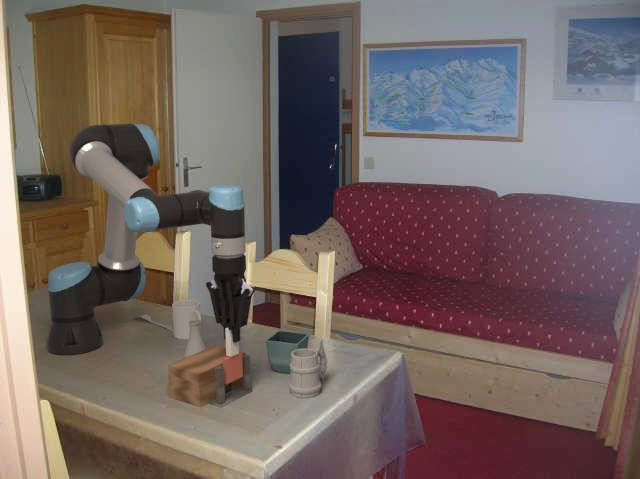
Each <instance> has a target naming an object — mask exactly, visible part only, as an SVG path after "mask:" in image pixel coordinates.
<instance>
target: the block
mask: <svg viewBox="0 0 640 479" xmlns="http://www.w3.org/2000/svg"><path fill="white" fill-rule="evenodd" d="M239 352H242V363H243V377H241V378H239V379H237V380H235V381H233V382H231V383H230V392H228V393H226V394H225V385H224V367H223V358H225V357H227V356H226V347H224V346H221V345H220V346H219V345H212V346H210V347H207V349H205V350H203V351H201V352H198V353H196V354H193V355H191V356H188V357H186V358H184V359H183V358H181V359H179V360H177V361H174V362H172V363H169V364H168V365H167V370H168V371H167V374H168V389H169V390H168V391H169V398H171V399H173V400H177V401H180V402H183V403H186V404H188V405H189V404H190V405H193V406H196V407H199V408H202V407H204V406H206V405H208V404H209V405H212V406H215V407H218V408H223V407H225V406H227V405H229V404H230V403H232V402H234V401H236V400H238V399H240V398H242V397H245V396H246V395H248V394H250V393H252V392H253V388H251V386H252V385H251V358H250V355H249V354H246V352H243V351H241V350H239Z"/></svg>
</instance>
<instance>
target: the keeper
mask: <svg viewBox="0 0 640 479" xmlns="http://www.w3.org/2000/svg"><path fill="white" fill-rule="evenodd" d="M242 352H243V351H240V352H239V354H237V355H234V356H232V357H230V356H227V357H225V358H223V367H224V384H229V383H231V382H233V381H235V380H237V379H239V378H241V377H243V363H242Z"/></svg>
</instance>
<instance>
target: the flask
mask: <svg viewBox="0 0 640 479" xmlns="http://www.w3.org/2000/svg"><path fill="white" fill-rule="evenodd" d="M200 322H201V323H202V320H201V321H200V320H191V321H189V325H190V335H189V339H187V343H186V346H185V349H184V353H183V357H182V359H184V358H186V357H188V356H191V355H193V354H196V353H198V352H201V351H203V350H205V349H208V347H207V344H206V342H205V340H204V338H203V335H202V330H201V331H200Z"/></svg>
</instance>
